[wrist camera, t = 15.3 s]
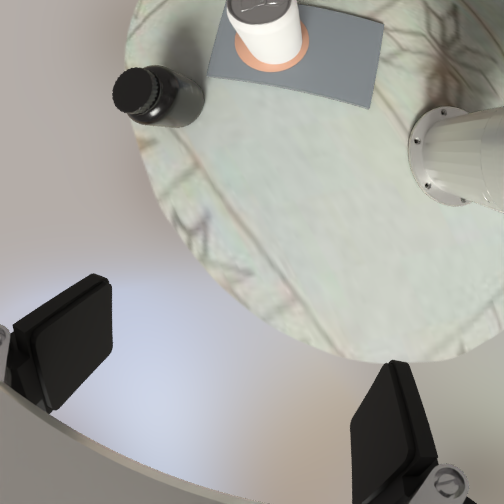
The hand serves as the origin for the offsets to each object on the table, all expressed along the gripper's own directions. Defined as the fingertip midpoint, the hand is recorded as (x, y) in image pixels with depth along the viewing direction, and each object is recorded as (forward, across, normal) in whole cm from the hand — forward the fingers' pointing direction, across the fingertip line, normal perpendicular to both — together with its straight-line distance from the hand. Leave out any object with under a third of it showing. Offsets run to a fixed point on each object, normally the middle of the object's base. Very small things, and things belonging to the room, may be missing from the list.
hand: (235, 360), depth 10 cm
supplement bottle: (+31, +17, -10) cm, 36 cm away
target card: (+30, +4, -20) cm, 36 cm away
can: (+30, +6, -20) cm, 36 cm away
